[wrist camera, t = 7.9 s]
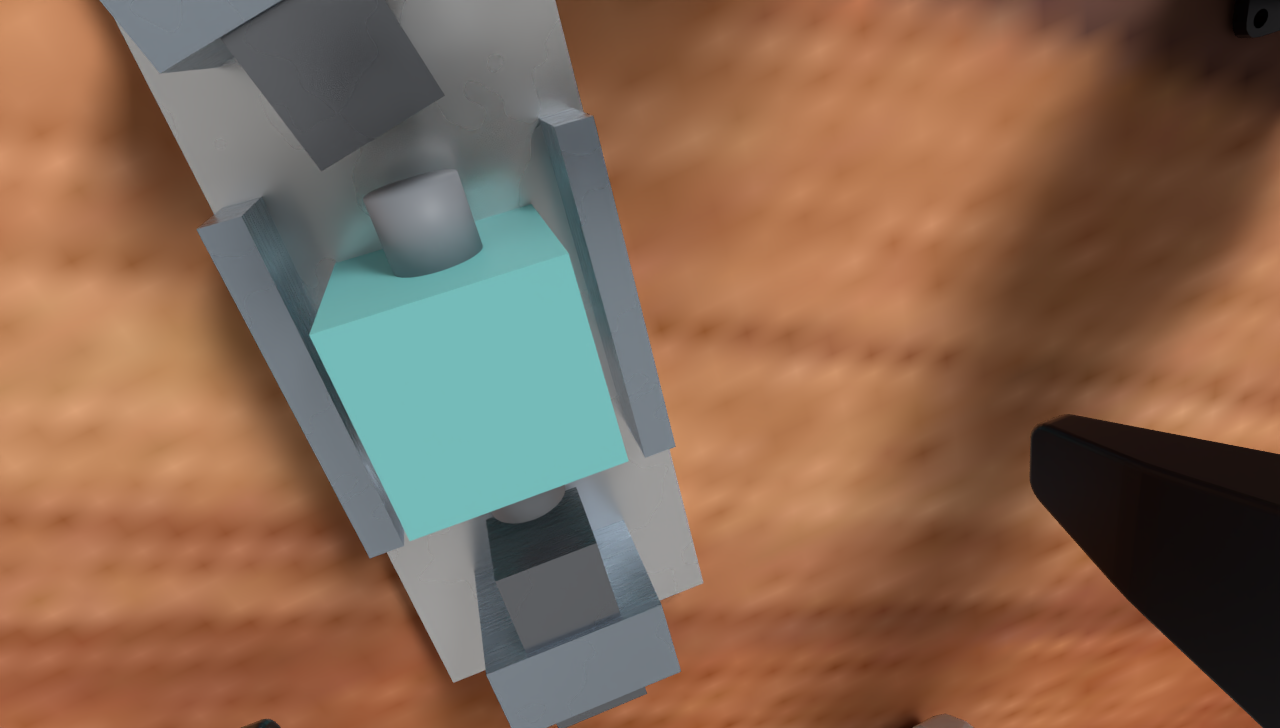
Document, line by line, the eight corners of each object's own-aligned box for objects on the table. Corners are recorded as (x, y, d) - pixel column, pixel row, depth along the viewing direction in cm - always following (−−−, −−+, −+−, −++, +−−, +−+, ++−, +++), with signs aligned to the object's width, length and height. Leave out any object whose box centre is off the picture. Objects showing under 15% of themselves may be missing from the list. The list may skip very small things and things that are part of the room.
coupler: (512, 138, 16) (544, 168, 12) (597, 421, 19) (645, 518, 15) (305, 196, 15) (267, 250, 11) (432, 480, 19) (436, 597, 15)
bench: (483, -242, 14) (512, -361, 10) (692, 562, 23) (750, 670, 19) (45, -154, 13) (-125, -248, 9) (451, 657, 22) (460, 793, 18)
